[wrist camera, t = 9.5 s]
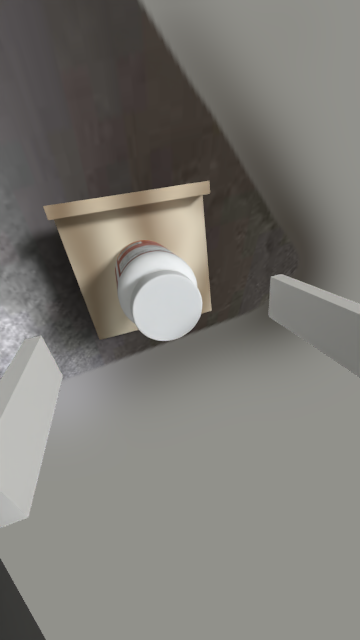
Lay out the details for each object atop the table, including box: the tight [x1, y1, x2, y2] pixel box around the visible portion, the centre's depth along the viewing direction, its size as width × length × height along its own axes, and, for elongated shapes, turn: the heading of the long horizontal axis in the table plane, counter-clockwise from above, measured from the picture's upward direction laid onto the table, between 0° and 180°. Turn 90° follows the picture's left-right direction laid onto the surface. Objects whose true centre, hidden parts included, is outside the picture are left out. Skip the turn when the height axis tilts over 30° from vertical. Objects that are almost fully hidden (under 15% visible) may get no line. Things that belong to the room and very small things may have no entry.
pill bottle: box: [115, 240, 202, 341], centre depth 19 cm, size 6×6×11 cm
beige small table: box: [43, 181, 212, 340], centre depth 26 cm, size 14×14×8 cm
